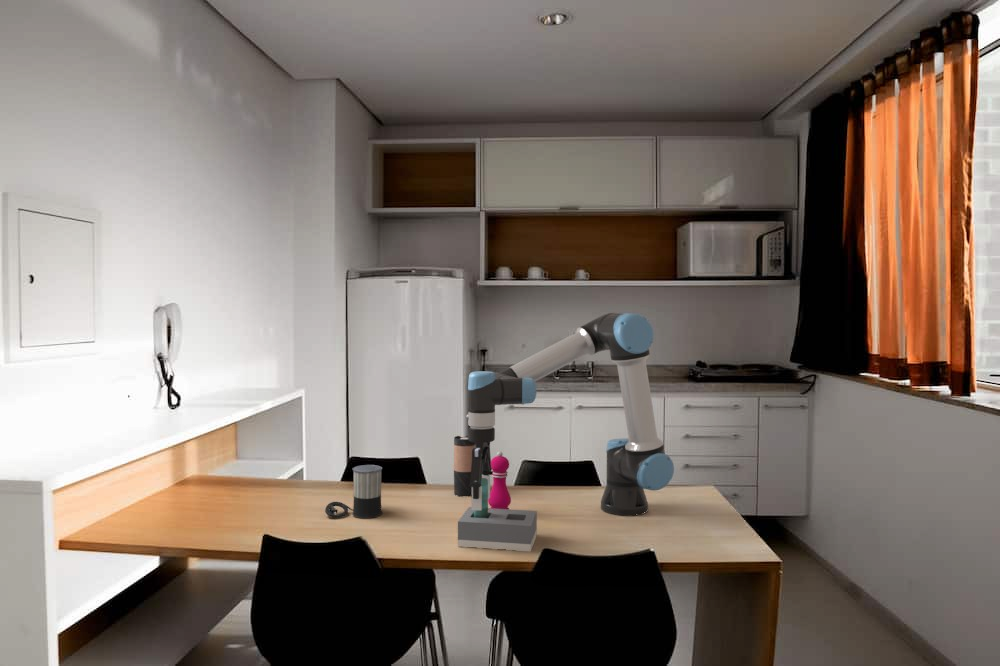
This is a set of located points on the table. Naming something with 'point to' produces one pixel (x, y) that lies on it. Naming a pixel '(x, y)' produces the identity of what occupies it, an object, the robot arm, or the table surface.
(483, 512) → the pin
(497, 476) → the pepper mill
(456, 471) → the travel mug
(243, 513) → the table surface
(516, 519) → the hole block
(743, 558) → the table surface
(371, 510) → the milk frother
